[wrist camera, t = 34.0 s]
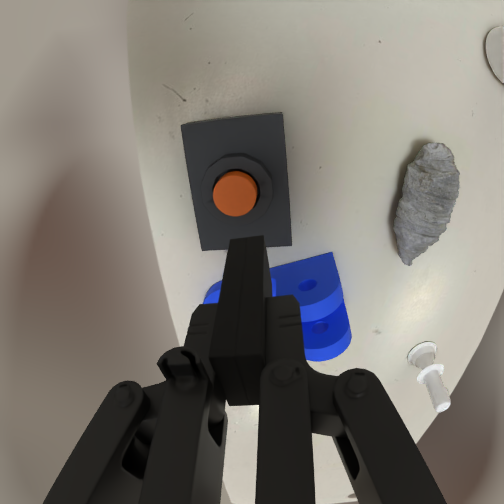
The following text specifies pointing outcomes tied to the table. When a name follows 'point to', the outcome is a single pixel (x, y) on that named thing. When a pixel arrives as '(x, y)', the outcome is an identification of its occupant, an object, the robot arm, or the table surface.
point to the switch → (235, 193)
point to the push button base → (244, 160)
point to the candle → (430, 374)
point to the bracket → (311, 303)
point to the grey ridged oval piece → (426, 200)
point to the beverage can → (496, 51)
